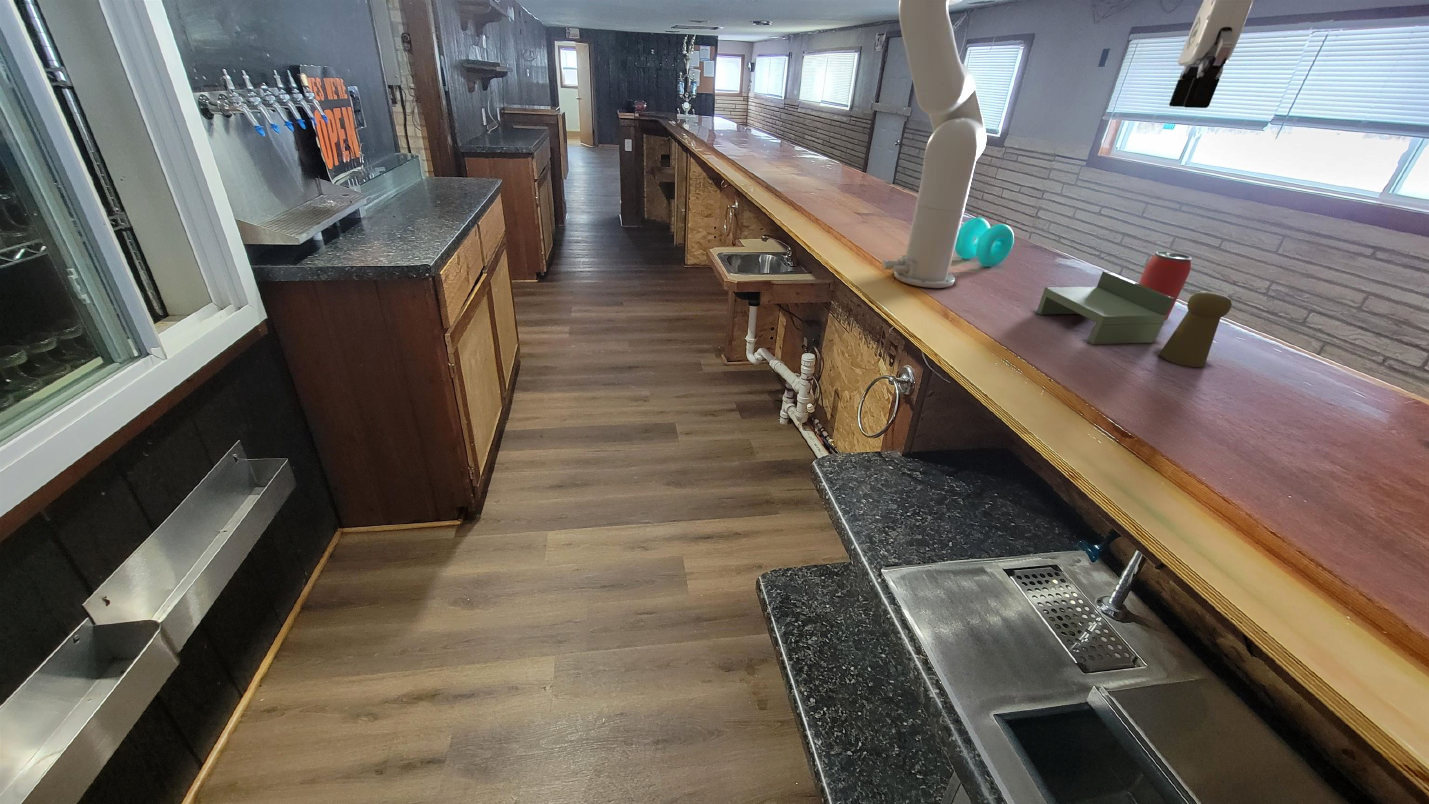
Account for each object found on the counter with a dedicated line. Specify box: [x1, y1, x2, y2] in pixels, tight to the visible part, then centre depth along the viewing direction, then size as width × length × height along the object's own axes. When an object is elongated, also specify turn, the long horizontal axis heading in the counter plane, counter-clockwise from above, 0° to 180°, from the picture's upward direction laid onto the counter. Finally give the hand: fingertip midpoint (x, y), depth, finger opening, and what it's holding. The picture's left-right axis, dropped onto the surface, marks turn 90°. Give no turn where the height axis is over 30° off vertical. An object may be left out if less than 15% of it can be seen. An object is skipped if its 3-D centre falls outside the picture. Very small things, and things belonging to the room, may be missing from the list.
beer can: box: [1137, 250, 1193, 322], centre depth 105 cm, size 7×7×12 cm
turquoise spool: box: [954, 216, 1015, 268], centre depth 135 cm, size 10×10×10 cm
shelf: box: [1036, 270, 1175, 345], centre depth 101 cm, size 12×15×8 cm
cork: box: [1159, 290, 1233, 368], centre depth 89 cm, size 6×6×11 cm
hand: (1187, 107), depth 92 cm, fingers open, 9 cm apart
